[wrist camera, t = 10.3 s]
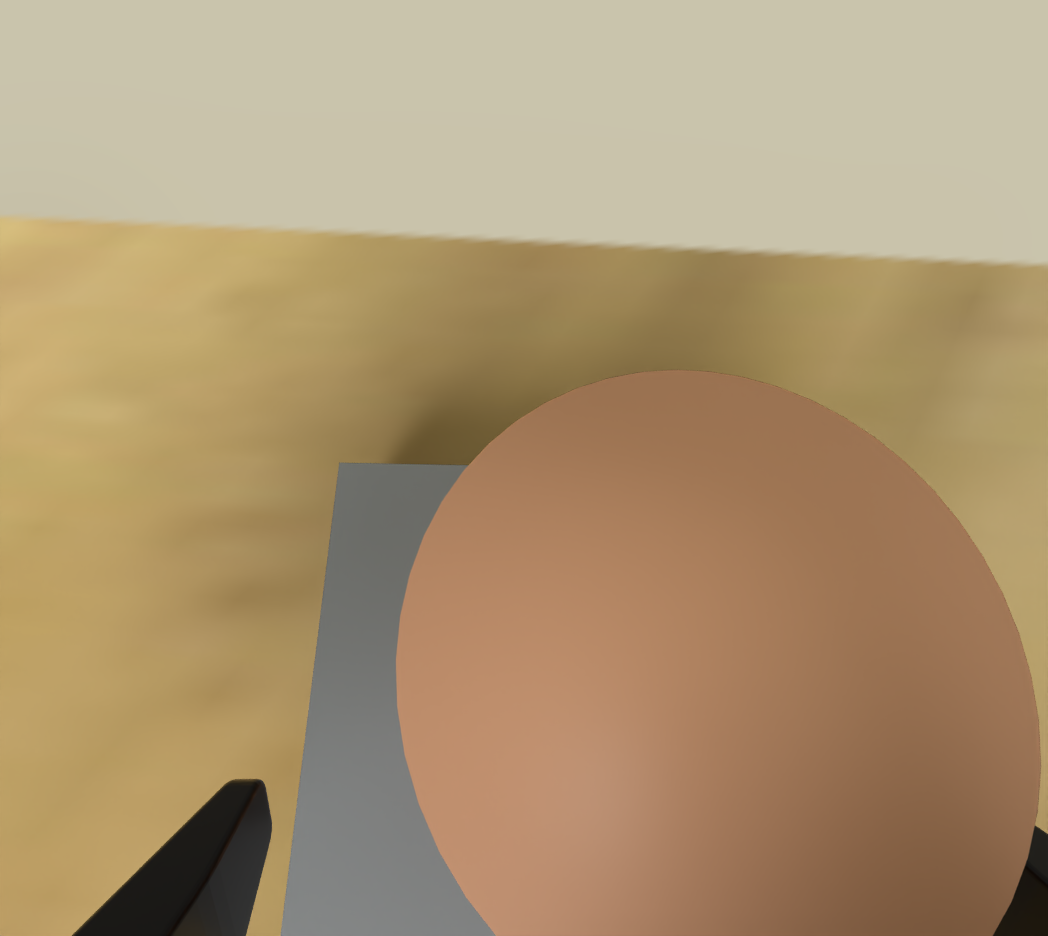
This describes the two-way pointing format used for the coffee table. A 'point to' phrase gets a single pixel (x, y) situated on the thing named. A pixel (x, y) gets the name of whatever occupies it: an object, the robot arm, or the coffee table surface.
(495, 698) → the pin
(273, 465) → the coffee table surface
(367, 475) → the socket block
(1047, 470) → the coffee table surface
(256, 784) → the robot arm
